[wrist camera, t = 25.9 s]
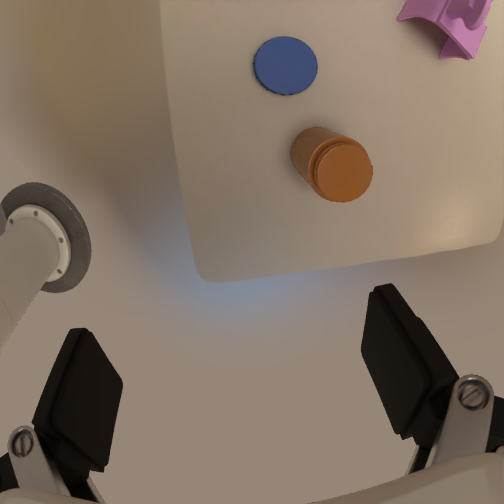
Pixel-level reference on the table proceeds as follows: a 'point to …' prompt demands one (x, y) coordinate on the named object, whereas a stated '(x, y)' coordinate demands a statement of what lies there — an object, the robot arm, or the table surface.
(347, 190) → the jar
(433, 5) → the toy chair
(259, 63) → the jar lid
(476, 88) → the table surface
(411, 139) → the table surface
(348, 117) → the table surface
